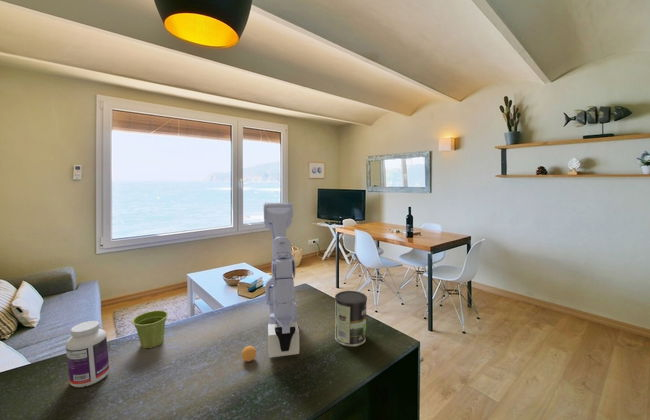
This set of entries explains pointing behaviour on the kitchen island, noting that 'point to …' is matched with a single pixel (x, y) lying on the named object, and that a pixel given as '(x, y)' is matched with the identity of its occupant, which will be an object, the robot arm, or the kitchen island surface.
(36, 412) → the kitchen island surface
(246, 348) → the ball
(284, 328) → the robot arm
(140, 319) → the plant pot
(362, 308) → the coffee can
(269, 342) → the white rectangular prism
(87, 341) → the pill bottle
